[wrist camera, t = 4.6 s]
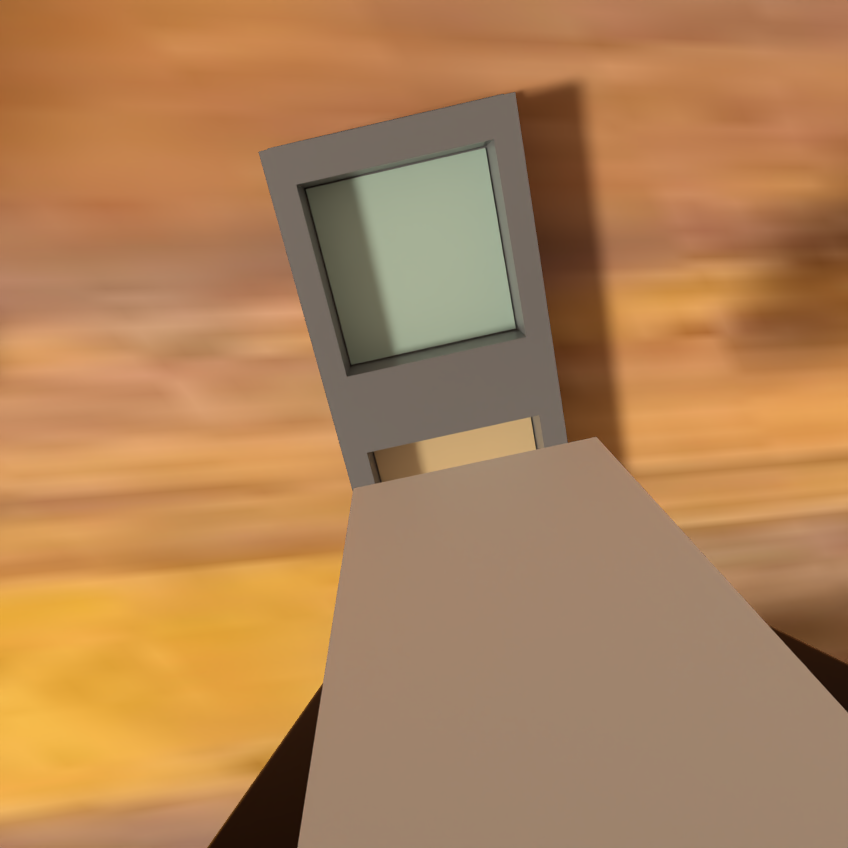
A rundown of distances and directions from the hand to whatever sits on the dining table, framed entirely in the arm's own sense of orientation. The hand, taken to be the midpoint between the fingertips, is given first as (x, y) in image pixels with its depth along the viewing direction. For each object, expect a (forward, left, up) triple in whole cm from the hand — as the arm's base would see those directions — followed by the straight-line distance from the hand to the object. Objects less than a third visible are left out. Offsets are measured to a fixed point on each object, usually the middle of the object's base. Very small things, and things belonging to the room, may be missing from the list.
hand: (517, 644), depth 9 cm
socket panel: (+1, 0, -13) cm, 13 cm away
